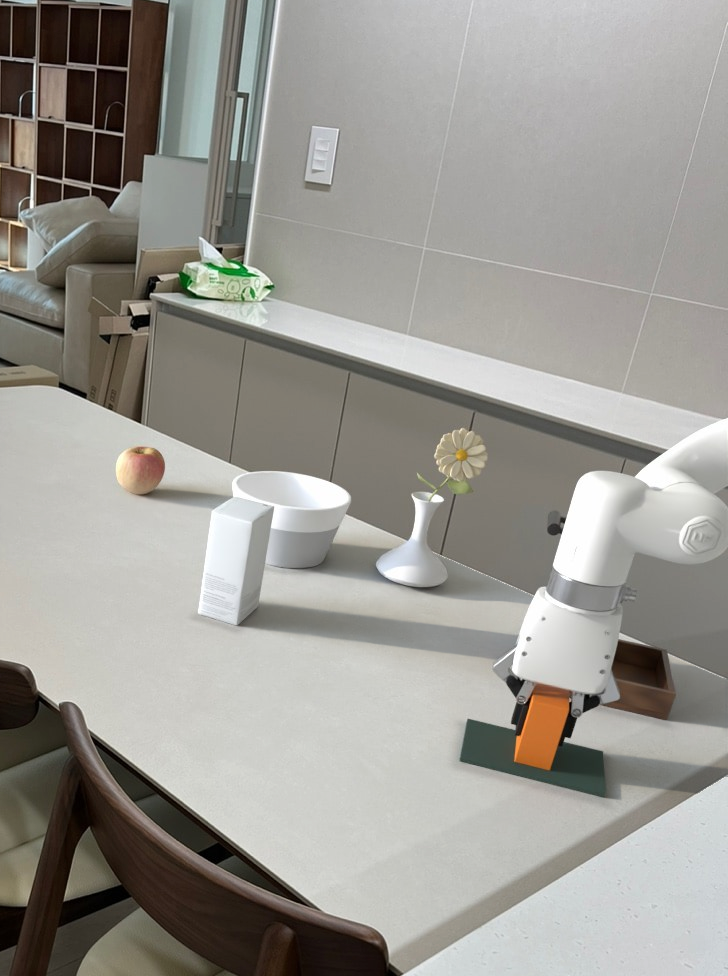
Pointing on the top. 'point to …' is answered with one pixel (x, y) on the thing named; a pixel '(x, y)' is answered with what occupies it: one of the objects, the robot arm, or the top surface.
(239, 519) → the cosmetic box
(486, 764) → the mat
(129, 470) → the apple
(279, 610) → the top surface
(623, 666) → the chest
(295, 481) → the bowl
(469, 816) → the top surface
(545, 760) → the orange block
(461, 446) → the flower in vase
